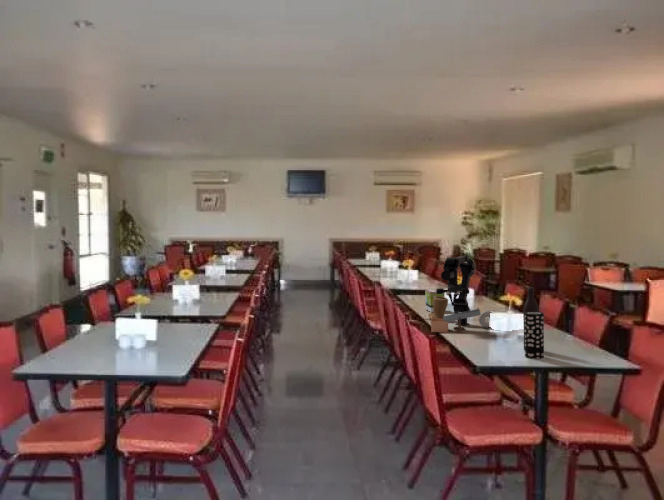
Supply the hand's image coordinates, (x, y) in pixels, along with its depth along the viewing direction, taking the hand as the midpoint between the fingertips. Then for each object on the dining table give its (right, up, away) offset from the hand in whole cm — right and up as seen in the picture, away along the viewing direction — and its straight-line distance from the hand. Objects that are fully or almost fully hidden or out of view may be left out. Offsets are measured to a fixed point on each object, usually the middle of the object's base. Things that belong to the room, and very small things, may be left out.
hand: (452, 305), depth 392 cm
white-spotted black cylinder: (+22, -16, -86) cm, 90 cm away
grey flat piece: (+4, -6, -6) cm, 9 cm away
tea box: (+1, -10, +75) cm, 75 cm away
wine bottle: (+25, -16, -71) cm, 77 cm away
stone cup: (-3, -12, +34) cm, 36 cm away
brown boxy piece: (-9, -14, -8) cm, 18 cm away
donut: (+20, -13, -2) cm, 24 cm away
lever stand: (+2, -13, -9) cm, 16 cm away
